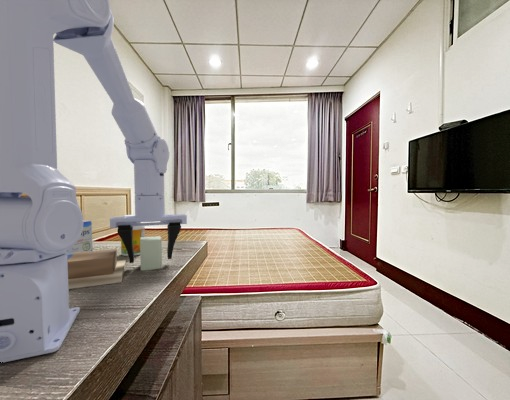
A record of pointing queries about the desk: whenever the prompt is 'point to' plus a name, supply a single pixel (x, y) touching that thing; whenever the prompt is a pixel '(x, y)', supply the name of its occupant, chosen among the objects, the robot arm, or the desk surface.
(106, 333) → the desk surface
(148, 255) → the sage pillar
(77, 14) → the robot arm
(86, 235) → the medicine box
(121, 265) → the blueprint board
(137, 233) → the supplement bottle
